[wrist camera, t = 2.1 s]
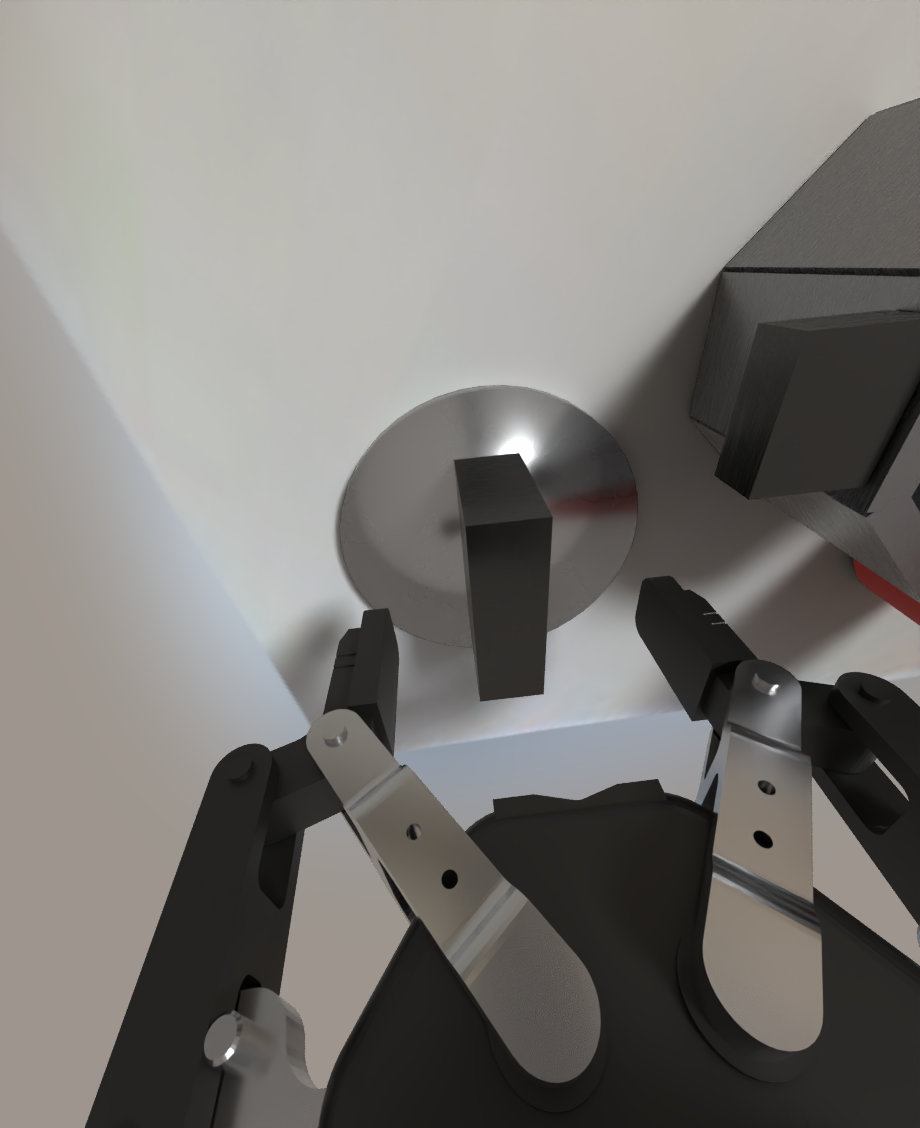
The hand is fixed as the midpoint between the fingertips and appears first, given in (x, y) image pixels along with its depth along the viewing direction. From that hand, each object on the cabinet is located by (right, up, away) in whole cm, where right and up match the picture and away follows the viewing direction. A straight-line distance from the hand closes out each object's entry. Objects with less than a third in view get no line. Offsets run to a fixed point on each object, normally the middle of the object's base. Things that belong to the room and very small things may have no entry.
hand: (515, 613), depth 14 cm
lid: (-1, +3, +3) cm, 4 cm away
